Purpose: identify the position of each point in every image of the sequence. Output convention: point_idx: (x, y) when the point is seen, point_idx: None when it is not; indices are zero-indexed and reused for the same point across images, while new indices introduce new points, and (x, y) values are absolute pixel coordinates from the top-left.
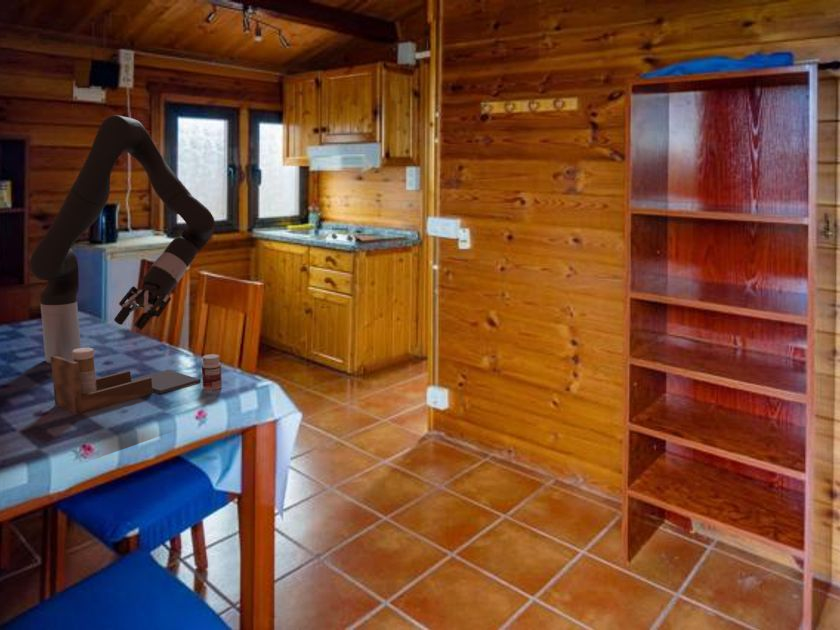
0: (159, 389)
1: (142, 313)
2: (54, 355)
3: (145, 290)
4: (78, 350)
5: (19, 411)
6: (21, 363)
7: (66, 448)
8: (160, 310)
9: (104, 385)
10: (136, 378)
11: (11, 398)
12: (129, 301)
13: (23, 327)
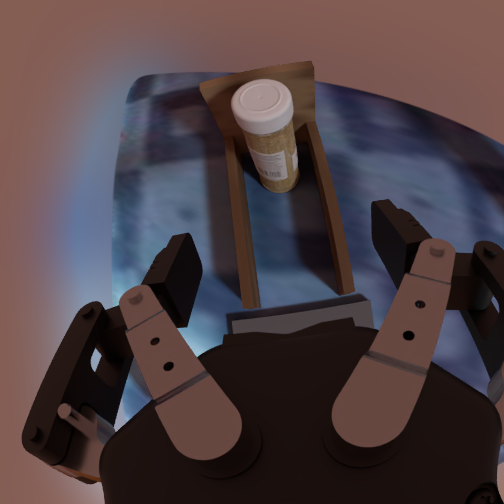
0: (241, 323)
1: (160, 278)
2: (313, 66)
3: (352, 479)
4: (260, 88)
5: (318, 92)
6: None
7: (128, 118)
8: (102, 373)
9: (328, 221)
10: (368, 322)
11: (397, 104)
12: (406, 276)
13: None
